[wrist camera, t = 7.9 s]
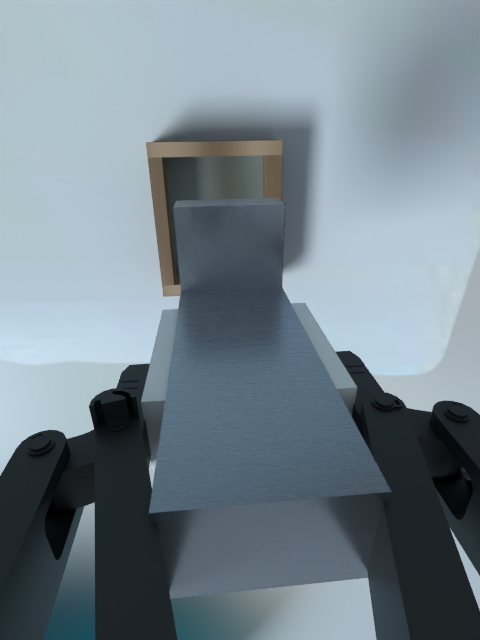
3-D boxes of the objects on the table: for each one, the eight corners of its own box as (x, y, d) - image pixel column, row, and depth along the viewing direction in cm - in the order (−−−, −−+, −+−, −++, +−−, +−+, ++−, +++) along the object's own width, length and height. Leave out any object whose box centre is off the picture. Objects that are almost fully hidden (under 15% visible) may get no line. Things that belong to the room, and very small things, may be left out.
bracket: (273, 323, 22) (371, 577, 9) (187, 327, 21) (164, 599, 9) (277, 197, 19) (432, 319, 6) (176, 200, 18) (116, 336, 6)
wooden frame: (166, 282, 35) (163, 296, 32) (151, 142, 30) (146, 142, 27) (271, 277, 36) (278, 290, 33) (274, 140, 31) (282, 140, 28)
